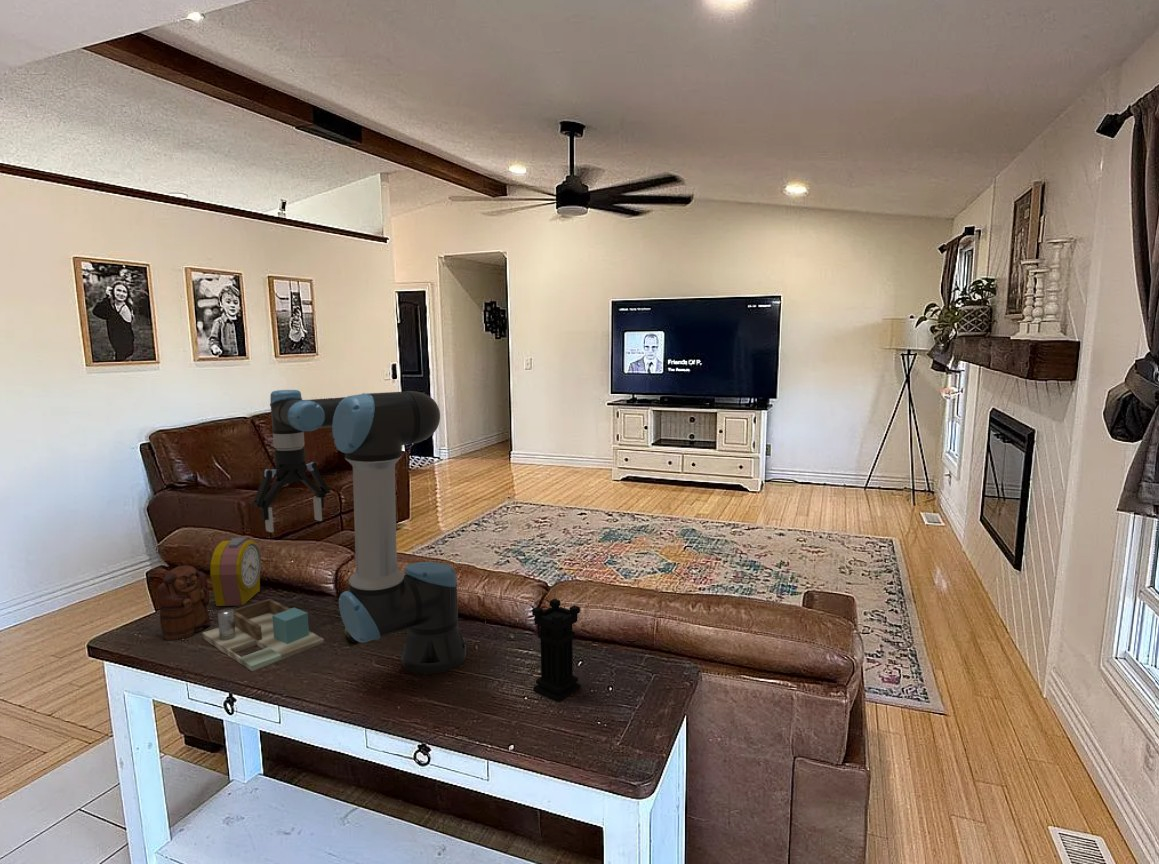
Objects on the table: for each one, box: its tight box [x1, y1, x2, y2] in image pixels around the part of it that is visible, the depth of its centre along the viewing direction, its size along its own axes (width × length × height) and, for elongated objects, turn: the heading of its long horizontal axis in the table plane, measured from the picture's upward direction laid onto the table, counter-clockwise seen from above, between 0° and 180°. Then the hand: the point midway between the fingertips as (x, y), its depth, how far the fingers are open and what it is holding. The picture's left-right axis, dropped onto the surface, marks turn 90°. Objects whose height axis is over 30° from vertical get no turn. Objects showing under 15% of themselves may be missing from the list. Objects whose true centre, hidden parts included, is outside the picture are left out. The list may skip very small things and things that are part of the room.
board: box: [201, 613, 325, 672], centre depth 169 cm, size 28×18×2 cm, turn 51°
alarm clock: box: [209, 537, 262, 607], centre depth 196 cm, size 15×8×18 cm, turn 2°
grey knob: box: [216, 608, 236, 641], centre depth 167 cm, size 4×4×7 cm
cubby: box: [233, 598, 291, 641], centre depth 175 cm, size 16×11×4 cm
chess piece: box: [531, 598, 582, 703], centre depth 141 cm, size 8×8×20 cm
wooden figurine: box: [157, 565, 212, 641], centre depth 173 cm, size 12×6×18 cm, turn 160°
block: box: [272, 607, 310, 644], centre depth 168 cm, size 6×6×6 cm
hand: (294, 525), depth 178 cm, fingers open, 13 cm apart
